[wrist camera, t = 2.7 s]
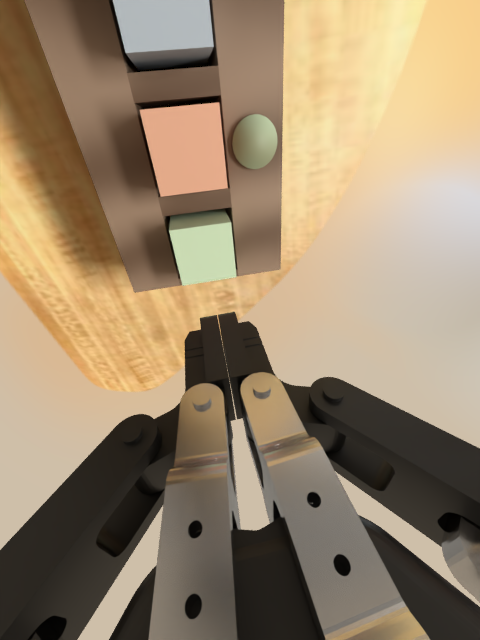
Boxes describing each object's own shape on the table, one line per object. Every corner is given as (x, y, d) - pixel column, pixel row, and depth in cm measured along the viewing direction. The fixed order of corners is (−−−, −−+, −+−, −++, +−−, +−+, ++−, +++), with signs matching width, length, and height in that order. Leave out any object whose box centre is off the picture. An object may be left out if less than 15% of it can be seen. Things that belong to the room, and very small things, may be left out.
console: (38, -45, 14) (-24, -119, 10) (258, -54, 15) (287, -122, 11) (141, 266, 25) (133, 294, 21) (265, 247, 26) (281, 271, 22)
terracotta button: (148, 113, 17) (139, 109, 13) (211, 107, 17) (219, 102, 13) (164, 183, 19) (160, 196, 15) (219, 176, 19) (227, 188, 16)
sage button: (171, 212, 20) (169, 230, 17) (222, 205, 21) (231, 222, 17) (182, 260, 23) (182, 285, 19) (227, 253, 23) (236, 277, 19)
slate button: (112, -42, 13) (87, -105, 9) (193, -45, 13) (198, -107, 10) (138, 69, 15) (125, 53, 12) (206, 64, 16) (213, 46, 12)
